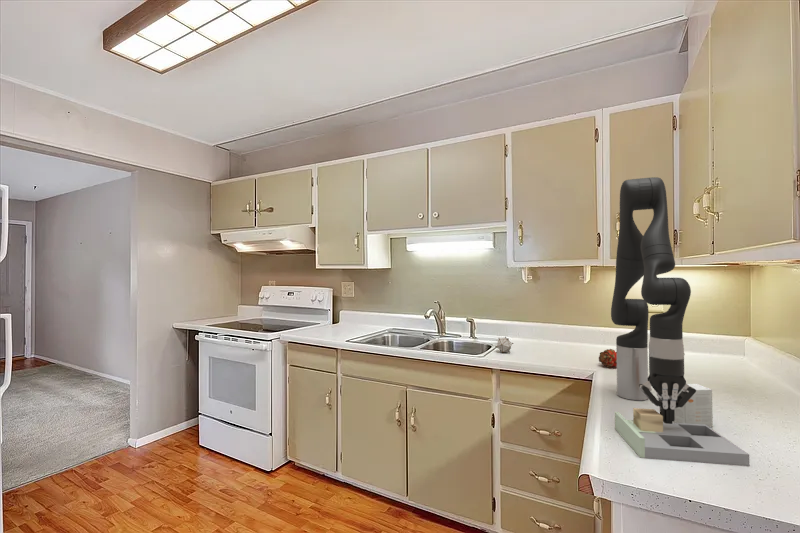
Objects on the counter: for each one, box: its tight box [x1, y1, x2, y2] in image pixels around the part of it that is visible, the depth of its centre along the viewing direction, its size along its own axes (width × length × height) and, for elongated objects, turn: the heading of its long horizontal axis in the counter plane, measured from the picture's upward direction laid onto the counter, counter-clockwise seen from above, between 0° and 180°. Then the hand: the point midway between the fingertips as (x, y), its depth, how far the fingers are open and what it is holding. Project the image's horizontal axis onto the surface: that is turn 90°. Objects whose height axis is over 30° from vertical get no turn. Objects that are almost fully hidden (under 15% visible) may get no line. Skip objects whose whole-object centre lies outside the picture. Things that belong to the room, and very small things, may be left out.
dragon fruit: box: [598, 348, 617, 369], centre depth 175 cm, size 8×8×12 cm
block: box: [632, 407, 663, 432], centre depth 102 cm, size 5×5×4 cm
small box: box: [673, 383, 714, 428], centre depth 111 cm, size 8×6×10 cm
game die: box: [494, 336, 514, 354], centre depth 206 cm, size 9×8×10 cm
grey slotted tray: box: [614, 411, 750, 467], centre depth 98 cm, size 17×22×4 cm
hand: (667, 422), depth 101 cm, fingers closed
